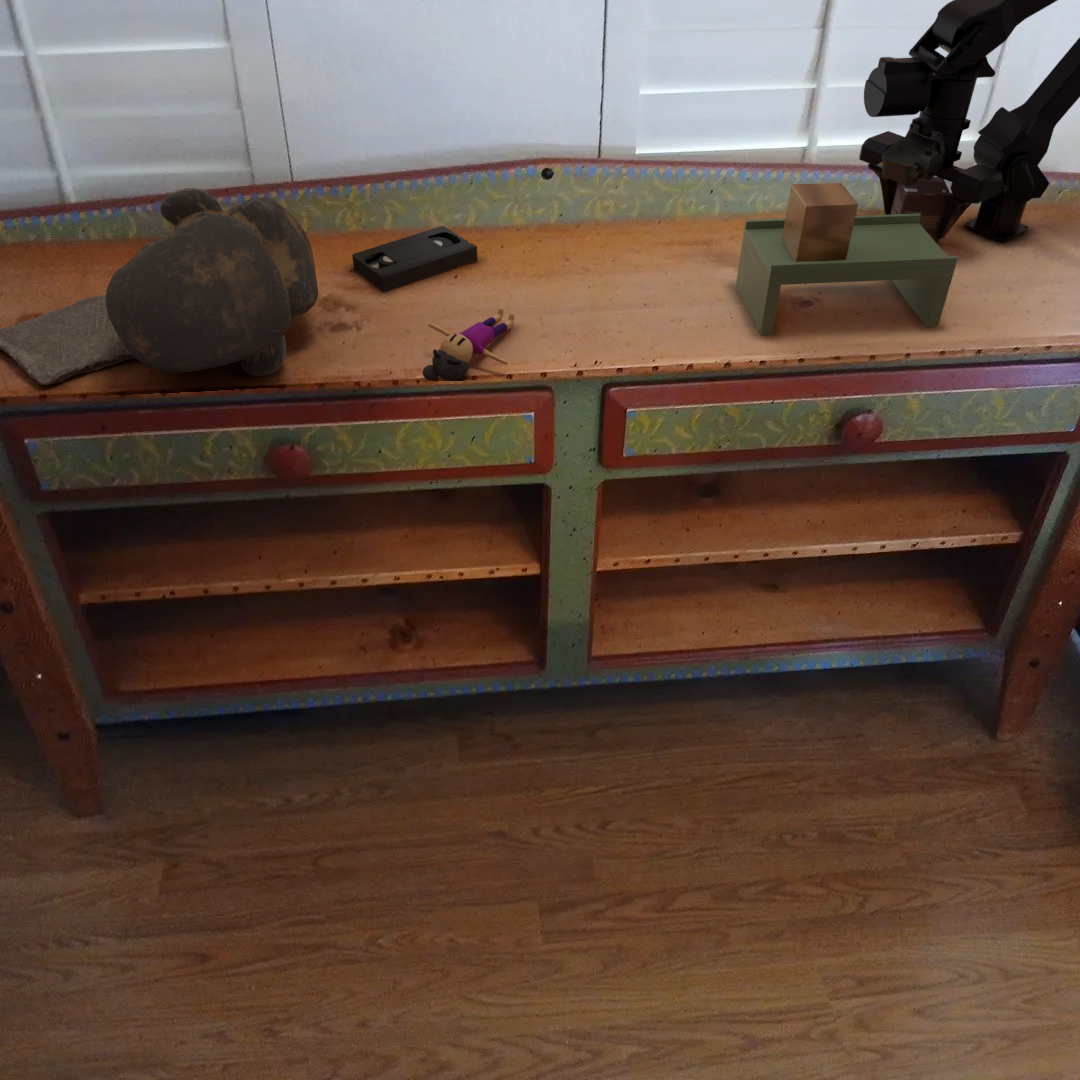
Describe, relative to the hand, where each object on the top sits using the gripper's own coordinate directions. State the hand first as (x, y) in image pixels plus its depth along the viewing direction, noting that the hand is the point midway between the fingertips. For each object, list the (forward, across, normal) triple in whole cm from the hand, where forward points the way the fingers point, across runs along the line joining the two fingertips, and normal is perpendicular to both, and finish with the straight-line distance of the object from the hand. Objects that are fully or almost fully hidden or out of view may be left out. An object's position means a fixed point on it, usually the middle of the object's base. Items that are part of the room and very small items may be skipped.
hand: (913, 227), depth 146 cm
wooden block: (-7, +4, -28) cm, 30 cm away
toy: (+1, -15, -59) cm, 61 cm away
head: (-10, -29, -75) cm, 81 cm away
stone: (0, -42, -93) cm, 102 cm away
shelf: (+1, +6, -24) cm, 25 cm away
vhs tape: (+2, -35, -59) cm, 68 cm away
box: (+1, 0, 0) cm, 1 cm away
